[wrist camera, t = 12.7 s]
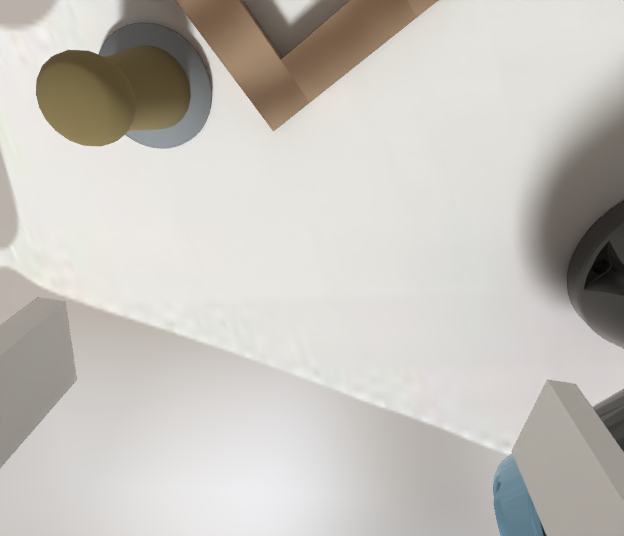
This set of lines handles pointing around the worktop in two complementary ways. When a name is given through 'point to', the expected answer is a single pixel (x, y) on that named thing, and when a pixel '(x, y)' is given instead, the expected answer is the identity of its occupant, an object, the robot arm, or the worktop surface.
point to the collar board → (296, 49)
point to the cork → (112, 93)
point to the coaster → (194, 71)
